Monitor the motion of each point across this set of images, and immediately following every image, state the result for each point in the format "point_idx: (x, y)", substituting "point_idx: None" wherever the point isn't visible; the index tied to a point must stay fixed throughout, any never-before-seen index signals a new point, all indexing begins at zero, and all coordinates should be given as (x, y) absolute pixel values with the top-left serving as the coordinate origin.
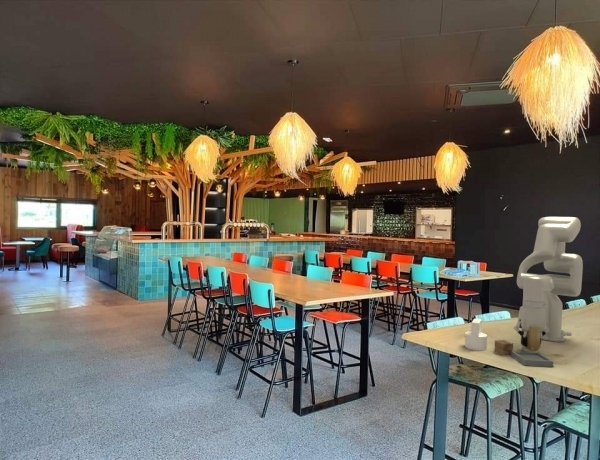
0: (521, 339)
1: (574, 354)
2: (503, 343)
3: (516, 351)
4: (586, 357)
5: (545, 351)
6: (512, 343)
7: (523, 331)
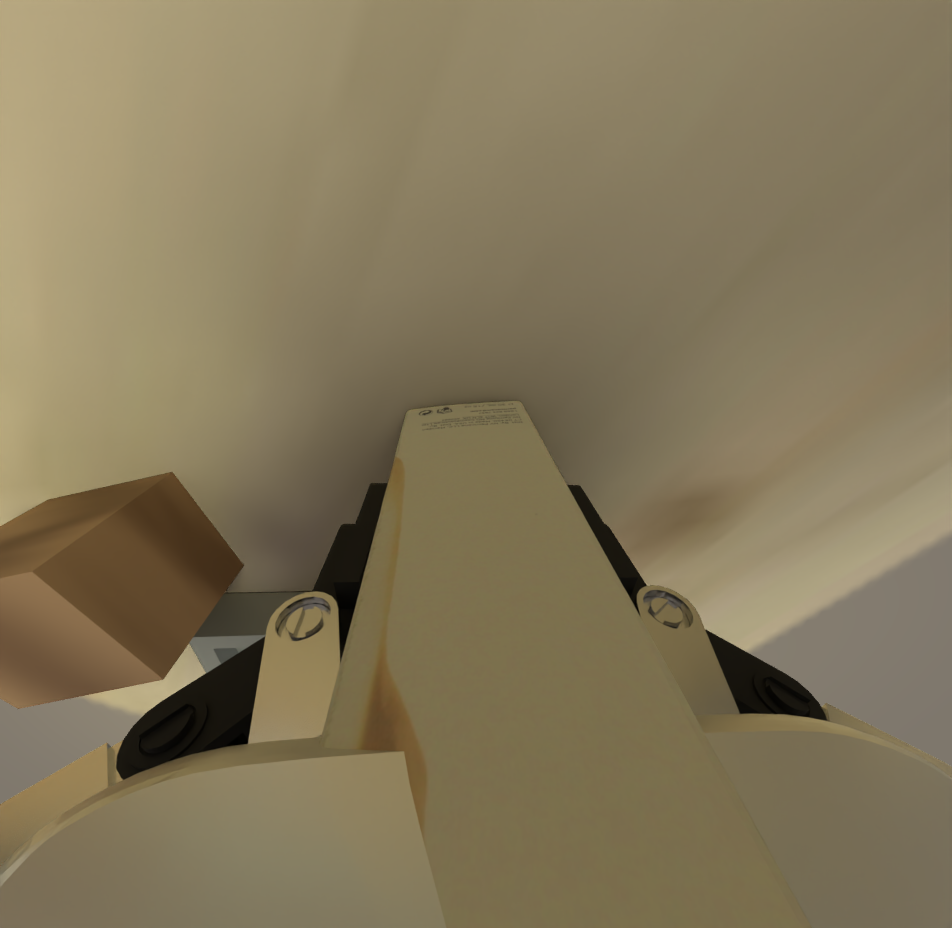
0: (328, 572)
1: (868, 488)
2: (20, 692)
3: (239, 641)
4: (875, 544)
5: (665, 431)
6: (152, 677)
7: (317, 719)
